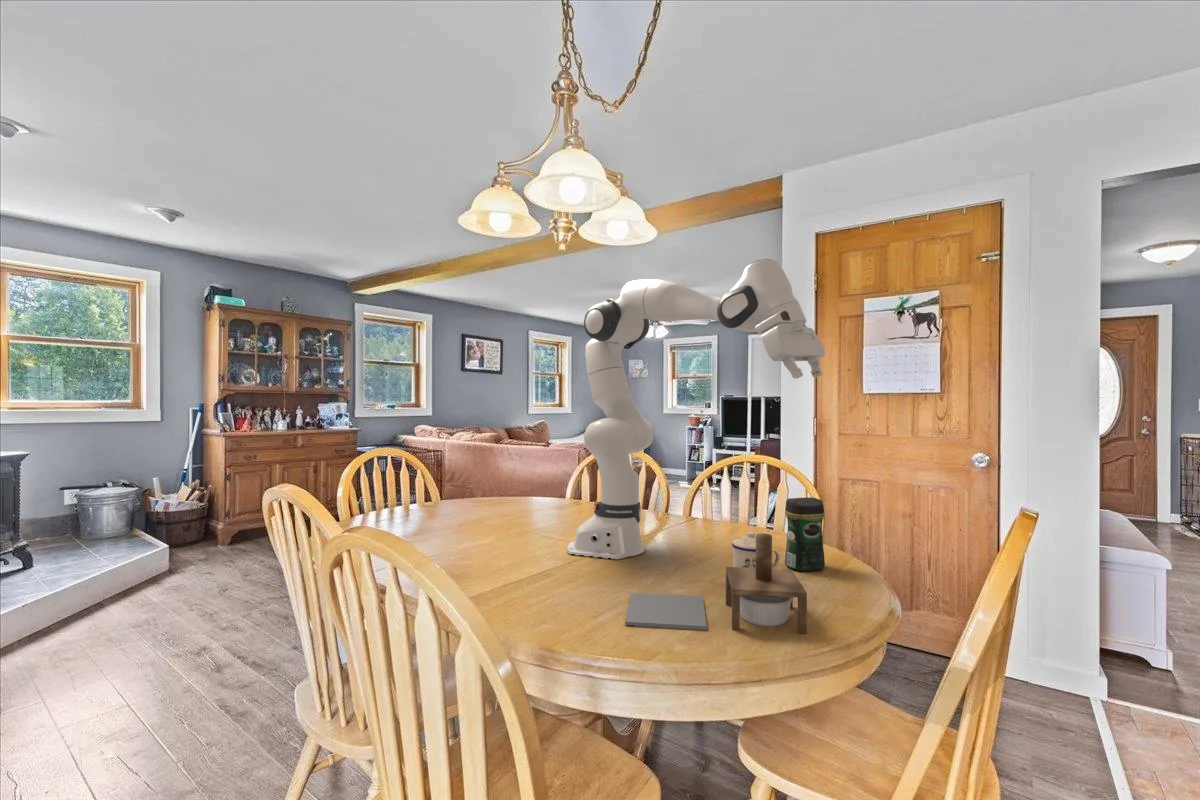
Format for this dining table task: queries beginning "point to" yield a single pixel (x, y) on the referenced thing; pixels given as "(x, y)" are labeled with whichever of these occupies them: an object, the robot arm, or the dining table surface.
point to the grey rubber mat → (666, 611)
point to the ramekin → (765, 609)
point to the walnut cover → (764, 583)
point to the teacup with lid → (748, 552)
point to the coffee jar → (804, 534)
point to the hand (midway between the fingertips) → (808, 377)
